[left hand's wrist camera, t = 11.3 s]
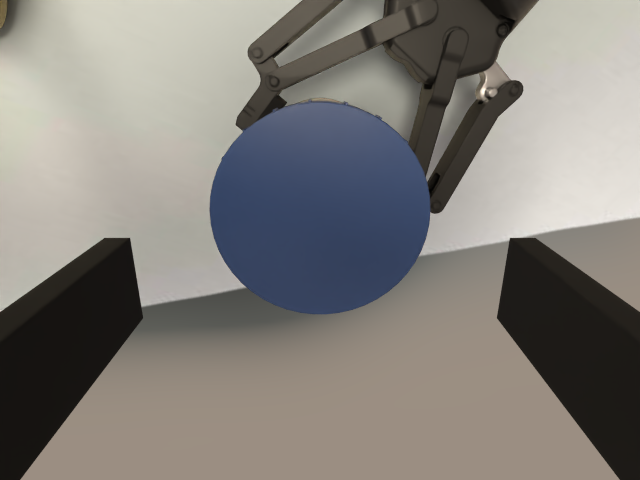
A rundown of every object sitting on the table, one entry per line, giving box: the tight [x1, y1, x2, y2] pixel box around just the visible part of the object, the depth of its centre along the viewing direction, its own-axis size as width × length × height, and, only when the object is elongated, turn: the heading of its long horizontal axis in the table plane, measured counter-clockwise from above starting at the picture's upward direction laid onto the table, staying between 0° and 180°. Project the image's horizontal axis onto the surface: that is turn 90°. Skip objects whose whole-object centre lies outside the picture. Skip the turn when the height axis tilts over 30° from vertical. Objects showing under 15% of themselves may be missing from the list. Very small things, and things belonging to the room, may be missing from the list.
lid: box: [210, 99, 430, 314], centre depth 20 cm, size 10×10×2 cm
